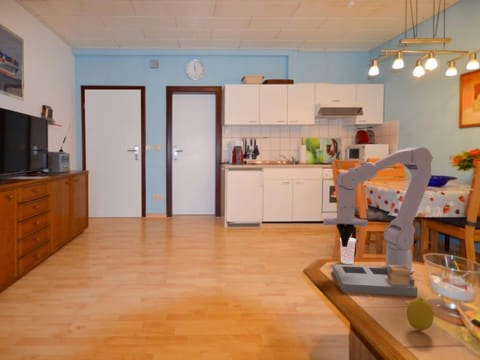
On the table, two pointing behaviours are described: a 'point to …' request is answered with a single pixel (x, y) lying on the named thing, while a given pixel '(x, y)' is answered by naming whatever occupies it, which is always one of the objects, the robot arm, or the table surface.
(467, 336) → the table surface
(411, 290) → the platform
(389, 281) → the pad
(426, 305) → the lemon
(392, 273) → the block
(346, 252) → the beverage cup
